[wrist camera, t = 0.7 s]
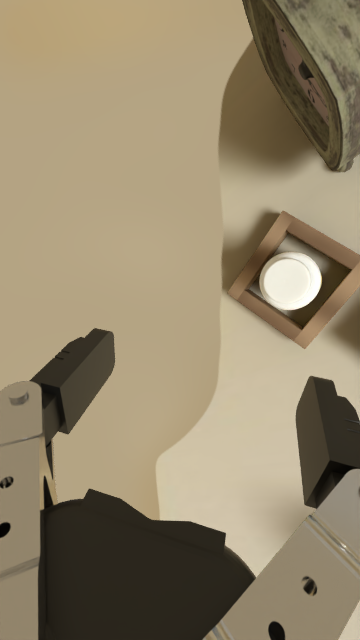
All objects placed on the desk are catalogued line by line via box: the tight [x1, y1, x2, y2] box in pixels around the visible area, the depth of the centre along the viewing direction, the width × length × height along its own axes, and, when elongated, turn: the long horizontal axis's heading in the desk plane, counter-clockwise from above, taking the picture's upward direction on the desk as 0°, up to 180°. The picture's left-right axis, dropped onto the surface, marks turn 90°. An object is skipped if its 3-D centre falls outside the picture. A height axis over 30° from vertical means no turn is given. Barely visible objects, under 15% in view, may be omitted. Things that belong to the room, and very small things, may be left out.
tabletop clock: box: [242, 0, 360, 172], centre depth 19 cm, size 14×9×25 cm, turn 32°
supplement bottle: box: [259, 252, 322, 310], centre depth 30 cm, size 6×6×10 cm
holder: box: [227, 211, 360, 349], centre depth 33 cm, size 11×11×2 cm
